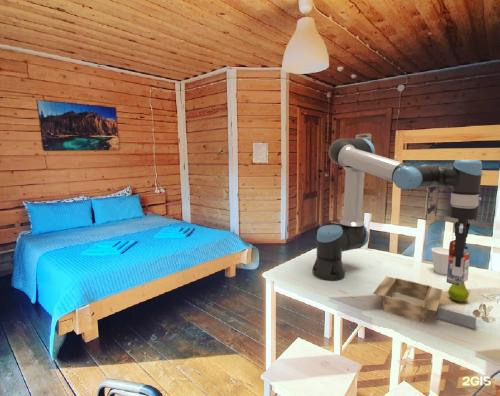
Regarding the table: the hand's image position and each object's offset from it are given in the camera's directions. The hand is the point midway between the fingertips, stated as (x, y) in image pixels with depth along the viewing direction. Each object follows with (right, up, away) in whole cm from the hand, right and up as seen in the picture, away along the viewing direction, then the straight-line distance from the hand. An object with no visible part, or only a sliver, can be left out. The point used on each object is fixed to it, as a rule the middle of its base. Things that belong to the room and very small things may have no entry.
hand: (458, 270), depth 100 cm
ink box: (0, -4, +1) cm, 4 cm away
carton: (-11, -16, +12) cm, 23 cm away
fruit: (+11, -16, +15) cm, 24 cm away
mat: (+1, -18, +3) cm, 18 cm away
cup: (+21, -11, +41) cm, 48 cm away
